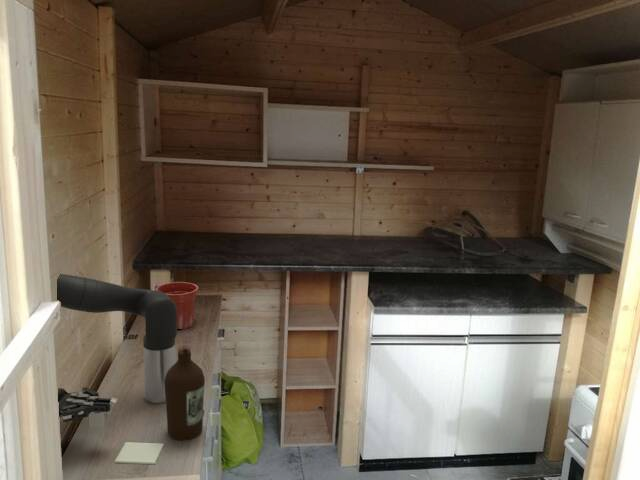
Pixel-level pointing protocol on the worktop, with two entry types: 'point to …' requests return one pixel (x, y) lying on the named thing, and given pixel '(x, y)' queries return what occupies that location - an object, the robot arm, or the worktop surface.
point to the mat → (139, 453)
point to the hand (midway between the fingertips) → (110, 405)
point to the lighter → (100, 417)
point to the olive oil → (184, 397)
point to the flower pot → (181, 301)
